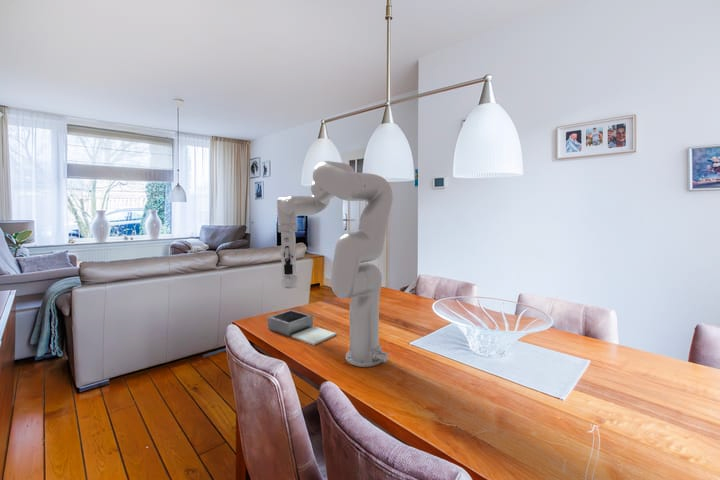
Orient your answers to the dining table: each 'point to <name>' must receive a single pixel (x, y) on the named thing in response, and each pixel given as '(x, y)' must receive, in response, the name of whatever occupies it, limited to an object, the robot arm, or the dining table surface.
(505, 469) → the dining table surface
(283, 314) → the steel collar
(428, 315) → the dining table surface
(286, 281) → the plastic bottle
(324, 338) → the mat
